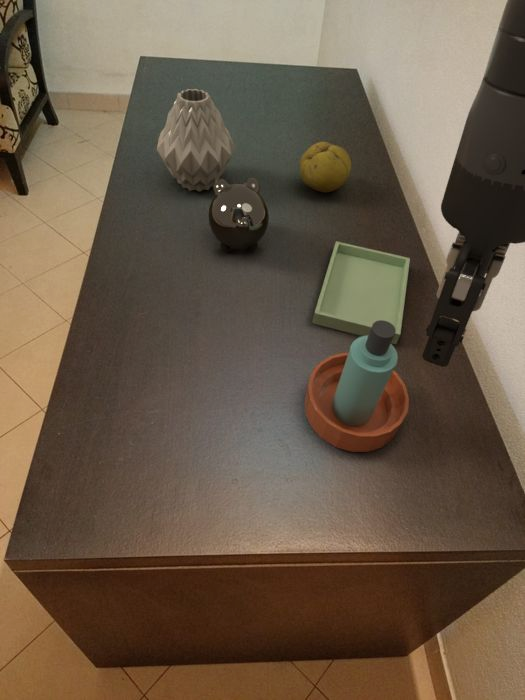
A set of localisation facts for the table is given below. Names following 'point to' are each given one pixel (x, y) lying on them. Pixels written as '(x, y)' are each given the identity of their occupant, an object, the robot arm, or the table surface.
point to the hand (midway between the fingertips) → (446, 332)
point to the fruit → (325, 167)
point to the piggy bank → (238, 214)
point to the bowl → (346, 436)
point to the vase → (195, 141)
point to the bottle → (365, 375)
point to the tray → (362, 290)
